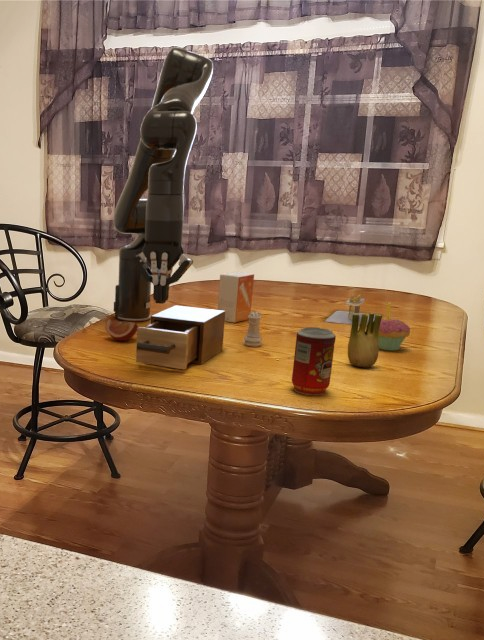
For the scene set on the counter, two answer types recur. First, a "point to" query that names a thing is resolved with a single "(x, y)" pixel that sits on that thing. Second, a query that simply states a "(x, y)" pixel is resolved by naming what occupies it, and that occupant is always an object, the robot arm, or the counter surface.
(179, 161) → the robot arm
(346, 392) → the counter surface
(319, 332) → the red food can
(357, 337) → the fennel bulb
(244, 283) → the small box
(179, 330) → the drawer
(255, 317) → the rook chess piece
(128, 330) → the fruit slice
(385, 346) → the cupcake
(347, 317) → the platform
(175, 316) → the cabinet
